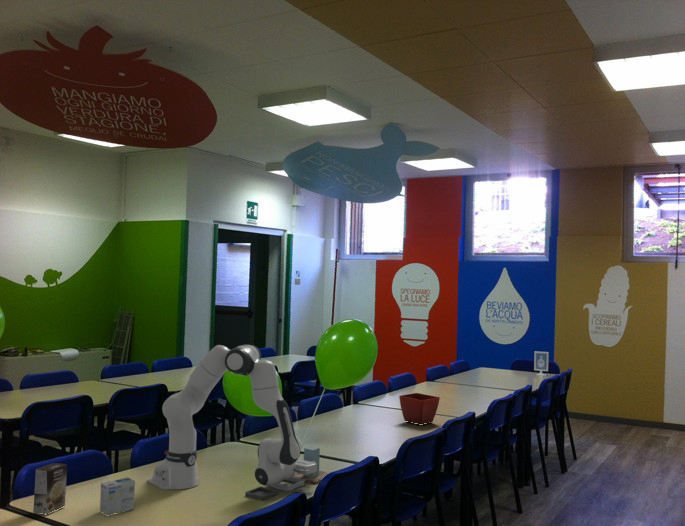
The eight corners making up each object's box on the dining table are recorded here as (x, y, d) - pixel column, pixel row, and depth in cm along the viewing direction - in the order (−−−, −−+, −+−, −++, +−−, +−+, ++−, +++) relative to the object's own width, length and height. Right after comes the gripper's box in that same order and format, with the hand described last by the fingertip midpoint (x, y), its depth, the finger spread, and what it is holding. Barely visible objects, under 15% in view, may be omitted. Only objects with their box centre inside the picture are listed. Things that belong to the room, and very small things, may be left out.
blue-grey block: (303, 475, 272) (304, 448, 273) (310, 473, 276) (310, 446, 277) (312, 477, 269) (313, 450, 270) (318, 475, 273) (319, 448, 274)
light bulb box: (126, 505, 233) (127, 476, 233) (134, 510, 228) (136, 480, 229) (98, 511, 225) (100, 482, 226) (106, 517, 221) (107, 486, 221)
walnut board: (290, 477, 272) (290, 475, 272) (309, 470, 283) (309, 468, 283) (315, 484, 264) (315, 481, 264) (334, 476, 275) (334, 474, 275)
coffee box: (47, 516, 220) (49, 470, 220) (32, 513, 222) (34, 468, 222) (65, 507, 229) (67, 464, 229) (51, 505, 230) (53, 462, 231)
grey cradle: (267, 485, 260) (268, 481, 260) (284, 479, 269) (284, 474, 269) (288, 491, 254) (288, 486, 254) (304, 484, 263) (304, 479, 263)
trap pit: (245, 495, 247) (245, 492, 247) (260, 490, 254) (260, 486, 254) (262, 500, 242) (262, 496, 242) (276, 494, 249) (277, 490, 249)
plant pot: (439, 423, 391) (440, 396, 392) (422, 427, 377) (422, 400, 378) (415, 418, 404) (416, 392, 405) (397, 422, 390) (398, 395, 391)
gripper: (305, 464, 253) (325, 457, 264) (267, 455, 264) (287, 449, 275) (305, 480, 252) (324, 472, 264) (267, 470, 264) (287, 463, 275)
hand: (305, 460), depth 270 cm, fingers open, 8 cm apart
